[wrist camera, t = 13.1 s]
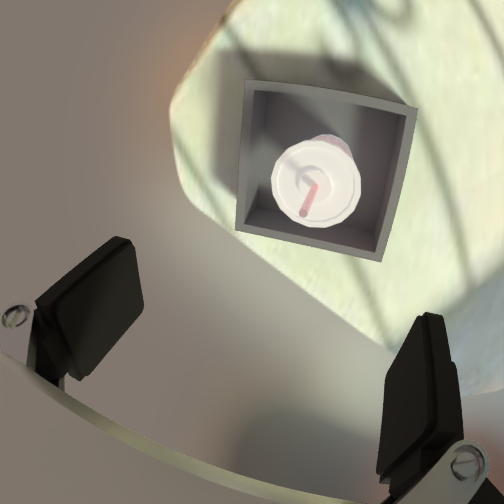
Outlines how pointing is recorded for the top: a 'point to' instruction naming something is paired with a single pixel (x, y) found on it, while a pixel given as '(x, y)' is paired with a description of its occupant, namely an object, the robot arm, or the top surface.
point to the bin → (305, 128)
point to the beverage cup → (317, 181)
